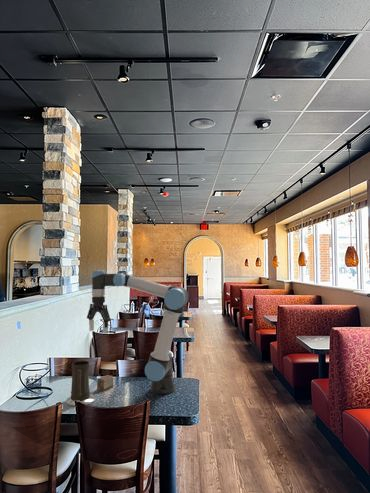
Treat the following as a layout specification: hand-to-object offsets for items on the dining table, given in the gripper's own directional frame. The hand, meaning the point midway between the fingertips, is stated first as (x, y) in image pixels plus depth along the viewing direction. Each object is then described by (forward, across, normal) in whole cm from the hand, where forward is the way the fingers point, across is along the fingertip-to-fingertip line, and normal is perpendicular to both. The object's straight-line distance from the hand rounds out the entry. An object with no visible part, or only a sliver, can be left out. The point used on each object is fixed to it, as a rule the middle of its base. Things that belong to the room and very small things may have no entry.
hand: (98, 331), depth 227 cm
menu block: (+37, +5, -9) cm, 38 cm away
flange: (+37, -2, +13) cm, 39 cm away
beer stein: (+36, -2, +13) cm, 38 cm away
